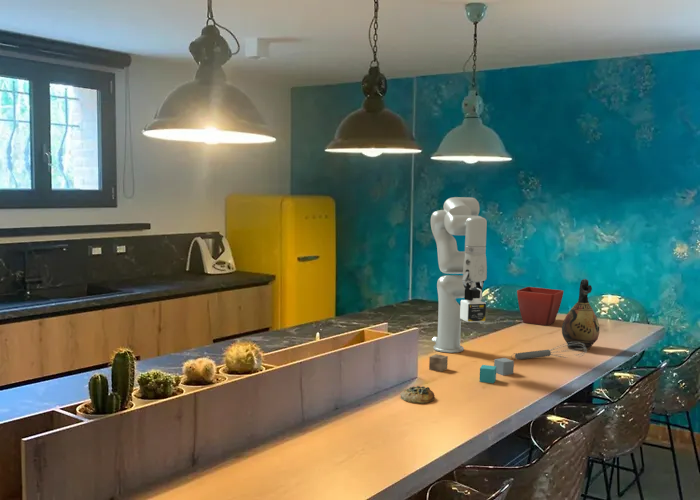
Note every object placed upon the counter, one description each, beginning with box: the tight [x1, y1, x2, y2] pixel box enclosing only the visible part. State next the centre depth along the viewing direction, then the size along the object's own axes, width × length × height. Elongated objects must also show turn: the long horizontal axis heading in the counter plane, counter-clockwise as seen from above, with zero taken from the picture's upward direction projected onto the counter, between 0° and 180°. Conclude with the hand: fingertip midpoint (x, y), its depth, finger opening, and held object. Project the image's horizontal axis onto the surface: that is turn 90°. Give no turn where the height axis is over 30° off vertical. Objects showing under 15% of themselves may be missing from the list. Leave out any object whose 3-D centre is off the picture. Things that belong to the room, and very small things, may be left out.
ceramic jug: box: [561, 278, 600, 352], centre depth 296 cm, size 17×15×30 cm
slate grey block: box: [493, 357, 515, 377], centre depth 254 cm, size 5×5×5 cm
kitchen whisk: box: [510, 342, 588, 361], centre depth 279 cm, size 6×34×6 cm, turn 105°
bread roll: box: [399, 385, 435, 404], centre depth 221 cm, size 11×11×5 cm
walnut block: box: [428, 354, 449, 373], centre depth 257 cm, size 5×5×5 cm
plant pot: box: [516, 286, 565, 326], centre depth 352 cm, size 19×19×17 cm
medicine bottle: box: [459, 288, 487, 323], centre depth 254 cm, size 7×7×12 cm
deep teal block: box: [479, 364, 497, 384], centre depth 243 cm, size 5×5×5 cm
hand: (473, 298), depth 253 cm, fingers closed on medicine bottle, 6 cm apart
